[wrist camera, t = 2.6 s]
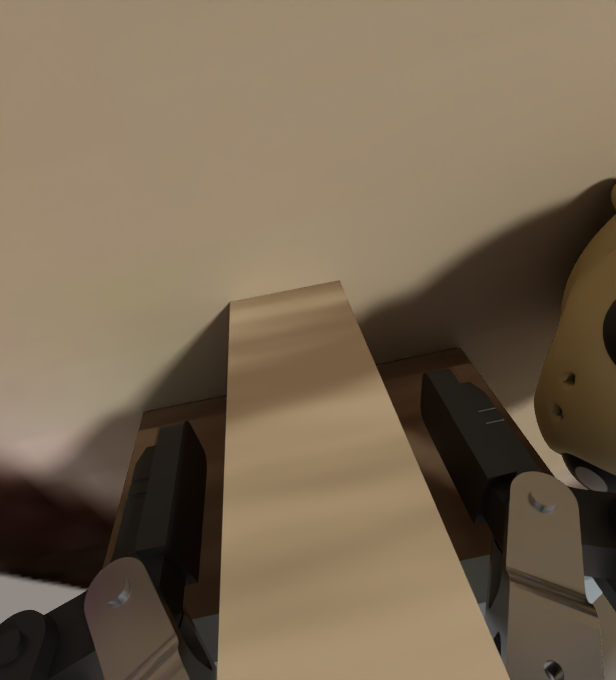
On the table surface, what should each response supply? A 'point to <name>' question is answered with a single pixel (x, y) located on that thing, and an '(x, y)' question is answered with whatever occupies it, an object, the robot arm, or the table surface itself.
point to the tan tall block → (331, 514)
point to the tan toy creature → (584, 368)
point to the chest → (405, 398)
